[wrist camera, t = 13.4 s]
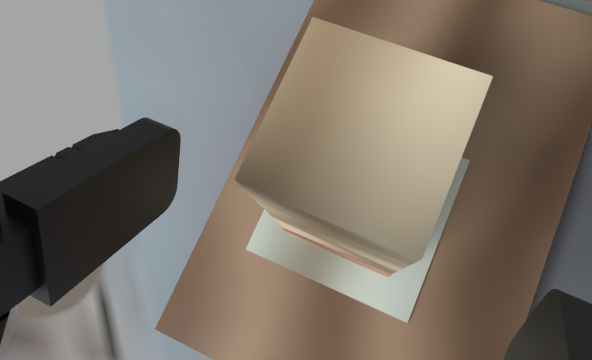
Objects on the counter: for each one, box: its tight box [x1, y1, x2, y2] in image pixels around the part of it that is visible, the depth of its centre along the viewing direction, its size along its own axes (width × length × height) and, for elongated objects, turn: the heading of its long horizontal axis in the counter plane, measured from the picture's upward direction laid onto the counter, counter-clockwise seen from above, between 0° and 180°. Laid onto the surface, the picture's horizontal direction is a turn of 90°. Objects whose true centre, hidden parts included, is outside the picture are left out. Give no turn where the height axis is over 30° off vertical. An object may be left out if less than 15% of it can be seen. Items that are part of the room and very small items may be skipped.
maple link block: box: [234, 17, 493, 277], centre depth 15 cm, size 5×5×10 cm
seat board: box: [155, 0, 592, 360], centre depth 21 cm, size 14×21×2 cm, turn 156°
